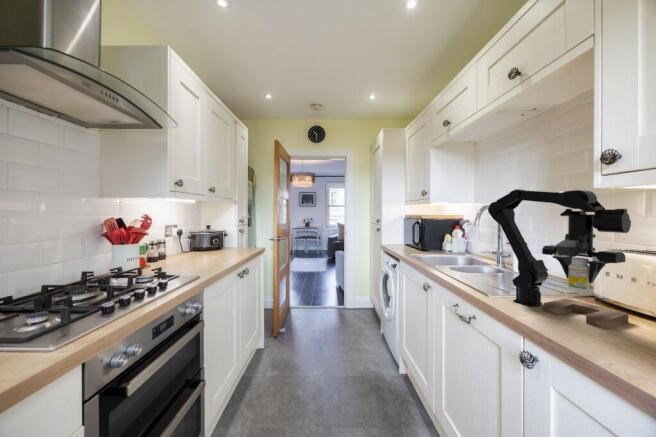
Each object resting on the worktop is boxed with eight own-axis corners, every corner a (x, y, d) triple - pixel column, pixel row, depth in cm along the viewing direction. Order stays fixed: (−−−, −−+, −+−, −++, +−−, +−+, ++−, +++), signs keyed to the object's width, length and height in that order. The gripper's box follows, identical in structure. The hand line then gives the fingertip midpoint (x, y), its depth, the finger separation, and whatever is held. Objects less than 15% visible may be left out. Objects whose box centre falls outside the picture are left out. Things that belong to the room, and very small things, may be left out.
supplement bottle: (580, 291, 84) (580, 260, 83) (563, 286, 89) (563, 257, 89) (596, 291, 84) (596, 259, 84) (578, 286, 89) (579, 256, 89)
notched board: (543, 310, 92) (543, 303, 92) (565, 305, 97) (565, 298, 97) (605, 329, 78) (606, 320, 78) (628, 322, 82) (628, 313, 82)
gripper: (531, 229, 92) (531, 276, 92) (605, 234, 74) (604, 292, 75) (552, 228, 96) (552, 273, 96) (626, 232, 78) (625, 287, 79)
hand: (579, 280), depth 86 cm, fingers closed on supplement bottle, 5 cm apart
